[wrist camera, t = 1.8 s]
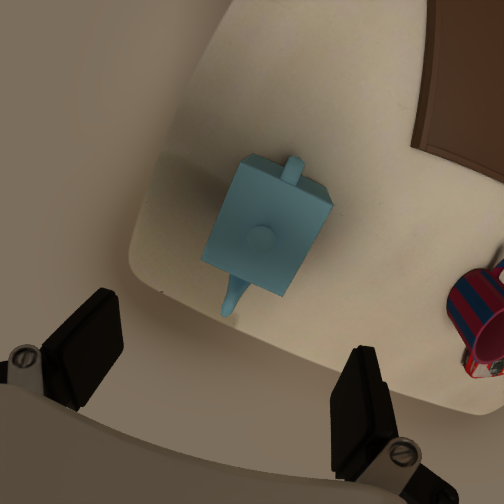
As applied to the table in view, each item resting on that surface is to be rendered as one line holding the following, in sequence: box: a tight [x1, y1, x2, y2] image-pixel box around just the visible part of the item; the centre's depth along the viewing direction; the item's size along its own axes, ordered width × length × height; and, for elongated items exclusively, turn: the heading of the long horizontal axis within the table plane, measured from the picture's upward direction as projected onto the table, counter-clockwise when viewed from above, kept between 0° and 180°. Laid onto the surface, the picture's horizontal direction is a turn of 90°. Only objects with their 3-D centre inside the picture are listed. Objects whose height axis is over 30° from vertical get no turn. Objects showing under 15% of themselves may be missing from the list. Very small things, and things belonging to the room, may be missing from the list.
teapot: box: [201, 153, 333, 317], centre depth 22 cm, size 12×6×8 cm, turn 157°
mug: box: [447, 259, 504, 365], centre depth 21 cm, size 7×10×7 cm
